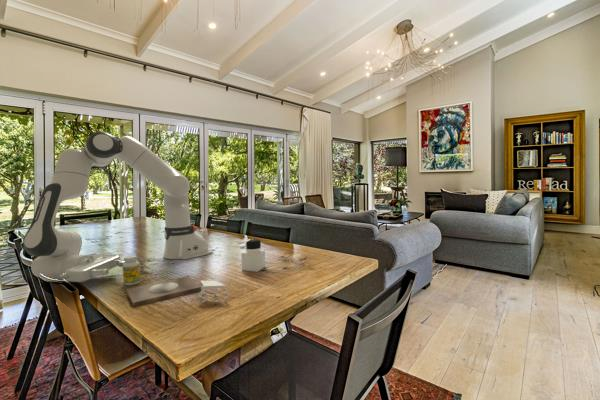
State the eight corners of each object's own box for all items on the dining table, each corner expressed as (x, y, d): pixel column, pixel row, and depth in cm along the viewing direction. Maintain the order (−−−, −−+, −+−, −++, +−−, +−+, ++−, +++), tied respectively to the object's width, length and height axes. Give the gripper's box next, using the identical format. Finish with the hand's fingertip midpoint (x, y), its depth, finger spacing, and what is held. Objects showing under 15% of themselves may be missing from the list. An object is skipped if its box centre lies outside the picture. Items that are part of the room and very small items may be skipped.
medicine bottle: (265, 266, 127) (264, 238, 126) (257, 272, 120) (256, 242, 119) (250, 265, 129) (249, 237, 128) (241, 270, 122) (240, 241, 121)
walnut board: (188, 279, 113) (188, 275, 113) (201, 290, 101) (200, 286, 101) (126, 292, 101) (126, 288, 101) (133, 306, 90) (133, 302, 89)
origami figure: (188, 303, 91) (187, 287, 91) (202, 293, 100) (202, 278, 99) (225, 306, 89) (224, 290, 88) (237, 295, 97) (236, 280, 97)
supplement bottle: (142, 279, 113) (141, 254, 112) (138, 284, 108) (136, 258, 107) (126, 281, 112) (124, 255, 111) (121, 286, 107) (119, 259, 106)
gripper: (54, 267, 100) (94, 268, 99) (99, 251, 120) (132, 252, 119) (55, 286, 101) (95, 287, 100) (100, 267, 121) (133, 267, 120)
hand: (116, 267), depth 110 cm, fingers open, 8 cm apart
